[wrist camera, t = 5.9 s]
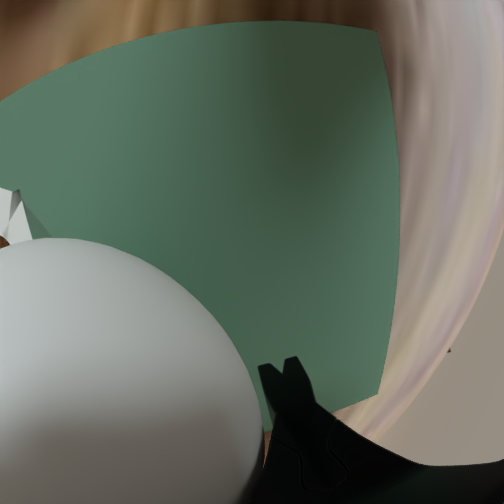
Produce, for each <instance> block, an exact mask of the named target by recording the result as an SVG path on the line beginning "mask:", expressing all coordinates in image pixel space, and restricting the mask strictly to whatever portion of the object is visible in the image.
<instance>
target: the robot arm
mask: <svg viewBox="0 0 504 504" xmlns="http://www.w3.org/2000/svg"><path fill="white" fill-rule="evenodd" d="M257 368H258V372H259V376H260V380H261V385H262V389H263V392H264V396H265V400H266V403H267V407H268V411H269V415H270V418H271V422H272V425H273V429H272V434H271V439H270V444H269V448H268V453H267V457H266V461H265V464H264V467H263V470H262V473H261V476H260V478H259V481H258V483H257V486H256V488H255V490H254V493H253V495H252V497H251V500H250V502H249V504H504V459H502V460H500V461H496V462H491V463H483V464H472V465H454V466H430V465H423V464H419V463H416V462H413V461H411V460H408V459H406V458H404V457H402V456H400V455H398V454H395V453H393V452H391V451H389V450H387V449H385V448H383V447H381V446H379V445H377V444H375V443H374V442H372V441H370V440H368V439H366V438H365V437H363V436H361V435H360V434H358V433H357V432H355V431H354V430H352V429H351V428H349V427H348V426H347V425H345V424H344V423H343V422H341V421H340V420H339V419H337V418H336V417H335V416H333V415H332V414H331V413H330V412H328V411H327V410H326V409H325V408H323V407H322V406H321V405H320V404H318V403H317V402H316V398H315V394H314V391H313V387H312V384H311V381H310V378H309V376H308V374H307V373H306V371H305V369H304V367H303V365H302V364H301V362H300V360H299V358H298V357H297V356H293V357H289V358H286V359H285V360H284V364H283V371H282V373H281V372H280V371H279V370H278V369H277V368H276V367H274V366H273V365H272V364H271V363H266V364H262V365H258V367H257Z"/></svg>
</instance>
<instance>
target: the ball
mask: <svg viewBox="0 0 504 504" xmlns="http://www.w3.org/2000/svg"><path fill="white" fill-rule="evenodd" d="M264 458H265V443H264V428H263V422H262V416H261V411H260V405H259V400H258V397H257V395H256V392H255V389H254V386H253V383H252V381H251V378H250V375H249V372H248V370H247V368H246V366H245V364H244V362H243V361H242V359H241V357H240V355H239V353H238V351H237V350H236V348H235V346H234V344H233V342H232V341H231V339H230V338H229V336H228V335H227V333H226V332H225V331H224V329H223V328H222V327H221V325H220V324H219V323H218V322H217V320H216V319H215V318H214V317H213V315H212V314H211V313H210V312H209V311H208V310H207V309H206V308H205V307H204V306H203V305H202V304H201V303H200V302H199V301H198V300H197V299H196V298H195V297H194V296H193V295H192V294H190V293H189V292H188V291H187V290H186V289H185V288H184V287H182V286H181V285H180V284H179V283H177V282H176V281H175V280H173V279H172V278H171V277H170V276H168V275H167V274H165V273H164V272H162V271H161V270H159V269H158V268H156V267H155V266H153V265H151V264H149V263H147V262H146V261H144V260H142V259H140V258H138V257H136V256H133V255H131V254H128V253H126V252H123V251H121V250H118V249H116V248H113V247H111V246H107V245H104V244H100V243H96V242H91V241H85V240H80V239H71V238H40V239H34V240H28V241H22V242H18V243H15V244H12V245H9V246H6V247H4V248H1V249H0V504H249V502H250V500H251V497H252V495H253V493H254V490H255V488H256V486H257V483H258V481H259V478H260V476H261V473H262V470H263V465H264Z"/></svg>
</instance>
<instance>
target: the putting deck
mask: <svg viewBox="0 0 504 504" xmlns="http://www.w3.org/2000/svg"><path fill="white" fill-rule="evenodd" d="M0 236H2V237H4V238H5V239H6V240H7V241H8V242H9V244H10V245H12V244H15V243H18V242H22V241H28V240H34V239H40V238H71V239H80V240H85V241H91V242H96V243H100V244H104V245H107V246H111V247H113V248H116V249H118V250H121V251H123V252H126V253H128V254H131V255H133V256H136V257H138V258H140V259H142V260H144V261H146V262H147V263H149V264H151V265H153V266H155V267H156V268H158V269H159V270H161V271H162V272H164V273H165V274H167V275H168V276H170V277H171V278H172V279H173V280H175V281H176V282H177V283H179V284H180V285H181V286H182V287H184V288H185V289H186V290H187V291H188V292H189V293H190V294H192V295H193V296H194V297H195V298H196V299H197V300H198V301H199V302H200V303H201V304H202V305H203V306H204V307H205V308H206V309H207V310H208V311H209V312H210V313H211V314H212V315H213V317H214V318H215V319H216V320H217V322H218V323H219V324H220V325H221V327H222V328H223V329H224V331H225V332H226V333H227V335H228V336H229V338H230V339H231V341H232V342H233V344H234V346H235V348H236V350H237V351H238V353H239V355H240V357H241V359H242V361H243V362H244V364H245V366H246V368H247V370H248V372H249V375H250V378H251V381H252V383H253V386H254V389H255V392H256V395H257V397H258V400H259V405H260V411H261V416H262V422H263V428H264V432H267V431H271V430H272V429H273V425H272V422H271V418H270V415H269V411H268V407H267V403H266V400H265V396H264V392H263V389H262V385H261V380H260V376H259V372H258V368H257V367H258V365H262V364H266V363H271V364H272V365H273V366H274V367H276V368H277V369H278V370H279V371H280V372H281V373H282V371H283V364H284V360H285V359H286V358H289V357H293V356H297V357H298V358H299V360H300V362H301V364H302V365H303V367H304V369H305V371H306V373H307V374H308V376H309V378H310V381H311V384H312V387H313V391H314V394H315V398H316V402H317V403H318V404H320V405H321V406H322V407H323V408H325V409H326V410H327V411H328V412H330V413H331V412H334V411H337V410H339V409H342V408H345V407H347V406H350V405H352V404H355V403H357V402H360V401H362V400H365V399H367V398H369V397H372V396H374V395H376V394H378V390H379V386H380V382H381V377H382V373H383V369H384V364H385V359H386V354H387V349H388V343H389V338H390V332H391V325H392V319H393V311H394V304H395V295H396V286H397V275H398V262H399V243H400V180H399V162H398V149H397V138H396V129H395V121H394V113H393V106H392V100H391V94H390V88H389V83H388V78H387V73H386V68H385V63H384V59H383V55H382V50H381V46H380V43H379V39H378V35H377V31H373V30H368V29H363V28H357V27H350V26H344V25H336V24H327V23H317V22H302V21H246V22H231V23H221V24H212V25H204V26H197V27H191V28H185V29H179V30H174V31H169V32H164V33H160V34H156V35H152V36H148V37H144V38H140V39H136V40H133V41H129V42H126V43H123V44H119V45H116V46H113V47H110V48H107V49H105V50H102V51H99V52H96V53H94V54H91V55H88V56H86V57H83V58H81V59H79V60H76V61H74V62H72V63H69V64H67V65H65V66H63V67H61V68H58V69H56V70H54V71H52V72H50V73H48V74H46V75H44V76H42V77H40V78H39V79H37V80H35V81H33V82H31V83H29V84H28V85H26V86H24V87H23V88H21V89H19V90H18V91H16V92H14V93H13V94H11V95H9V96H8V97H6V98H5V99H3V100H2V101H0Z"/></svg>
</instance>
